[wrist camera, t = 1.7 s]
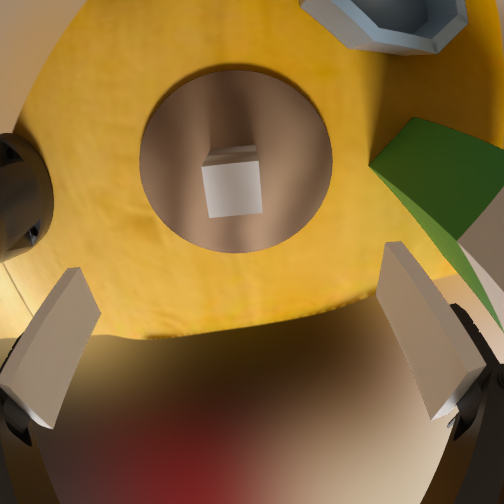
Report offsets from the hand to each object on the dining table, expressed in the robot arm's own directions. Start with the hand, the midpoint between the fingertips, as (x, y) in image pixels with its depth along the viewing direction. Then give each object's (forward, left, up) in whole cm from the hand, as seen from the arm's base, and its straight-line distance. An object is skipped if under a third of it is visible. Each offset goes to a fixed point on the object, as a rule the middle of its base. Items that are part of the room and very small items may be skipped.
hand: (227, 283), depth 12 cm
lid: (0, 0, -18) cm, 18 cm away
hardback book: (+22, -4, -18) cm, 28 cm away
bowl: (+14, +18, -18) cm, 29 cm away
